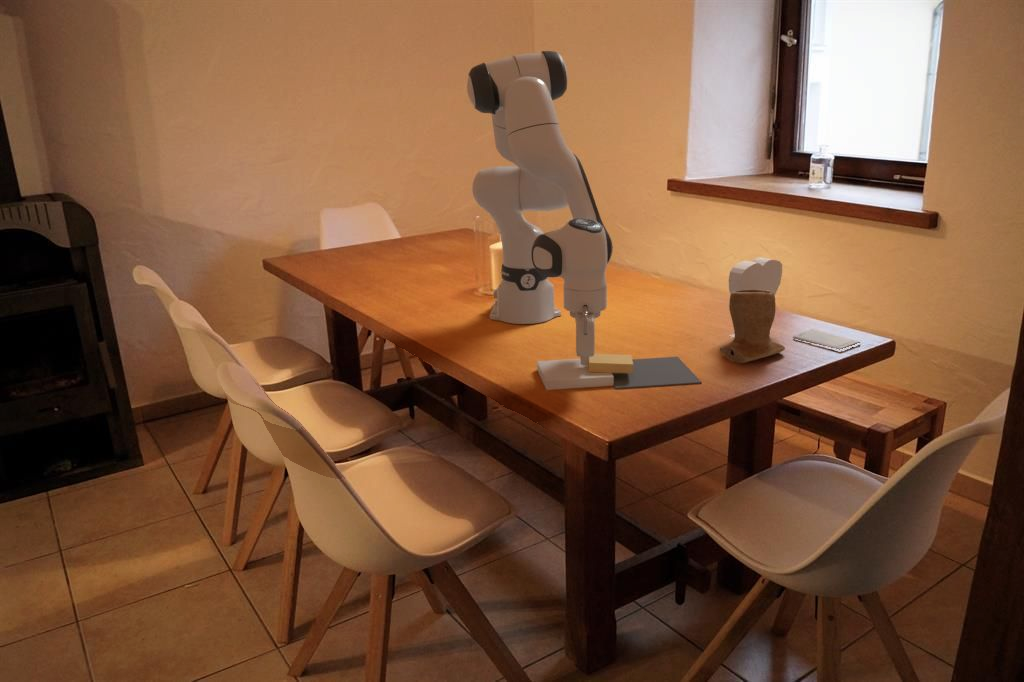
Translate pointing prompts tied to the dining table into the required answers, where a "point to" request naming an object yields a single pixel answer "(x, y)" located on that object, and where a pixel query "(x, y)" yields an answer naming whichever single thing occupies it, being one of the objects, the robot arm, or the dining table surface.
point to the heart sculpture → (756, 275)
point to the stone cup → (751, 325)
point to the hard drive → (825, 339)
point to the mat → (655, 374)
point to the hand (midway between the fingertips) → (584, 362)
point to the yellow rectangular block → (611, 363)
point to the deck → (571, 375)
